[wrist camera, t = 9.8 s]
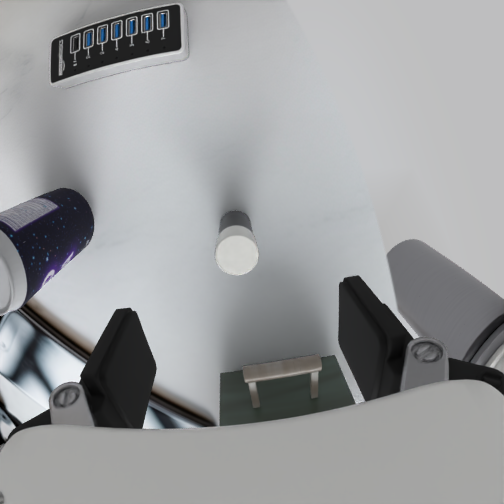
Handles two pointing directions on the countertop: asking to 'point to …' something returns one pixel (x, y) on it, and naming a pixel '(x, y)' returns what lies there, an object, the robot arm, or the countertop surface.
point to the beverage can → (40, 243)
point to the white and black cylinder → (236, 244)
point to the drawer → (282, 390)
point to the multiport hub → (119, 45)
